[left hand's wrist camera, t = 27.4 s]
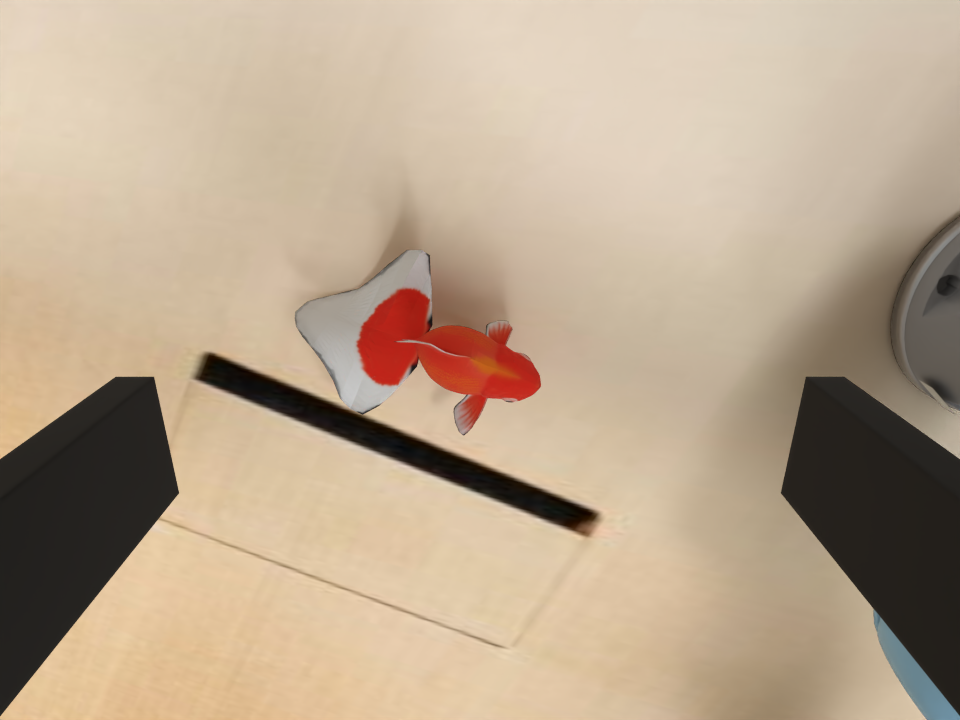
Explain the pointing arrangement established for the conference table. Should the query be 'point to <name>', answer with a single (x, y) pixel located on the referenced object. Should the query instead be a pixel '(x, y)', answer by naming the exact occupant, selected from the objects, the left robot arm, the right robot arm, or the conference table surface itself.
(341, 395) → the fish
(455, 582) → the conference table surface
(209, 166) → the conference table surface
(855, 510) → the left robot arm
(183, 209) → the conference table surface
